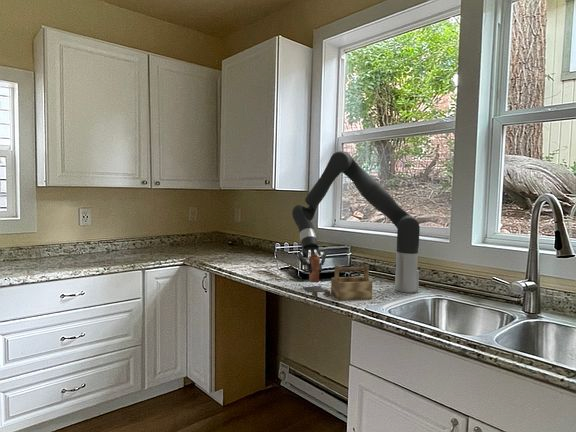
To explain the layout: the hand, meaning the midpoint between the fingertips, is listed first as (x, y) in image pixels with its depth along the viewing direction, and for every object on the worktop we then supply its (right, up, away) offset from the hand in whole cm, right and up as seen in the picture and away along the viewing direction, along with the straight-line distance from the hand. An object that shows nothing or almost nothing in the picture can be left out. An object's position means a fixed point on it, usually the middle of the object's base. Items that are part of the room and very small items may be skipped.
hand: (315, 272), depth 172 cm
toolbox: (+14, -9, -7) cm, 18 cm away
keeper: (+2, -9, -7) cm, 11 cm away
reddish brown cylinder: (-1, -4, +2) cm, 5 cm away
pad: (-1, -8, +2) cm, 8 cm away
